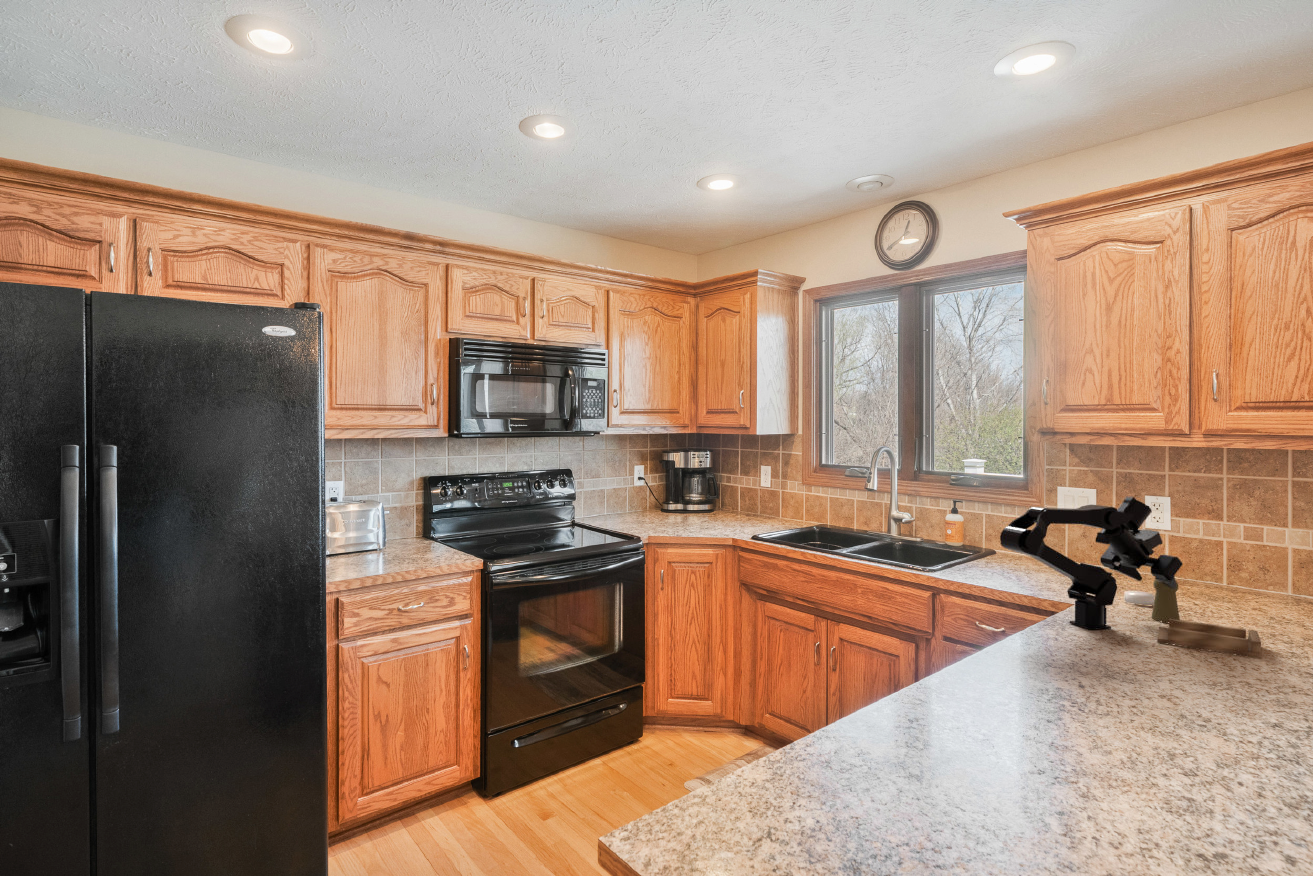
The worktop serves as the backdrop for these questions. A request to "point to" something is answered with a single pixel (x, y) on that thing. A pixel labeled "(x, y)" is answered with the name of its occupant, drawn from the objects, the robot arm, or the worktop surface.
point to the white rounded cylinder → (1139, 597)
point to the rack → (1211, 638)
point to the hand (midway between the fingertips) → (1157, 583)
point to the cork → (1165, 602)
